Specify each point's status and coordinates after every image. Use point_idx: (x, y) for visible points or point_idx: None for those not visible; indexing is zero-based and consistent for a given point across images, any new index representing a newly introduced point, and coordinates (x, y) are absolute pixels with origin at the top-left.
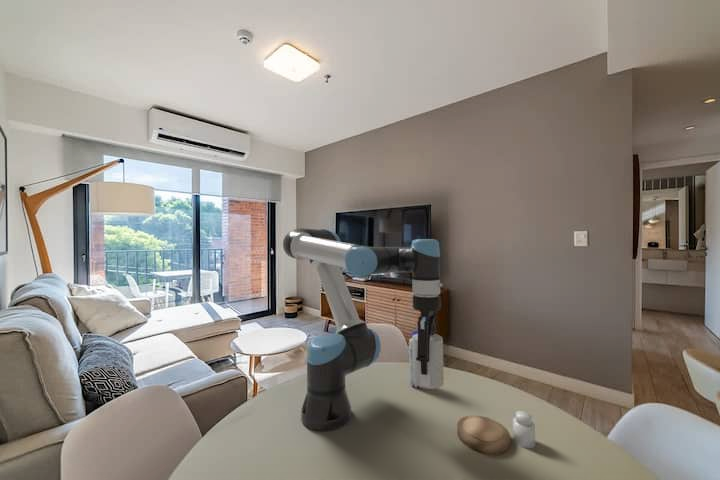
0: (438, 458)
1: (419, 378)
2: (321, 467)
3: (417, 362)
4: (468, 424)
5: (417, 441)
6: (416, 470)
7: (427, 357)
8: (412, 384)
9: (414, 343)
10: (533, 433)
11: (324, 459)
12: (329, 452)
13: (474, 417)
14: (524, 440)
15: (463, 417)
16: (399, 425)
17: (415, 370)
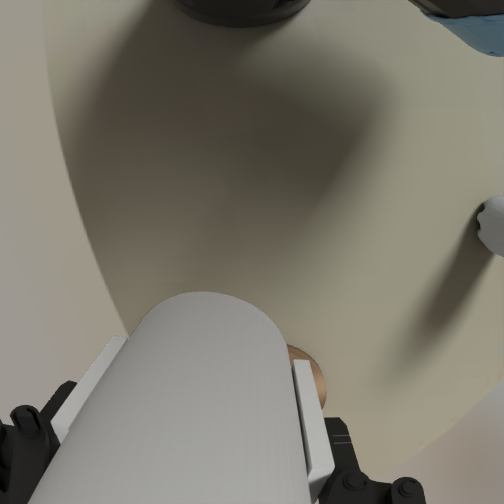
0: (152, 296)
1: (100, 354)
2: (58, 55)
3: (90, 397)
4: None
5: (196, 243)
6: (99, 250)
7: (7, 471)
8: (486, 205)
9: (42, 491)
10: None
11: (78, 47)
12: (98, 43)
13: (317, 389)
14: None
15: (311, 366)
16: (257, 180)
17: (123, 349)
